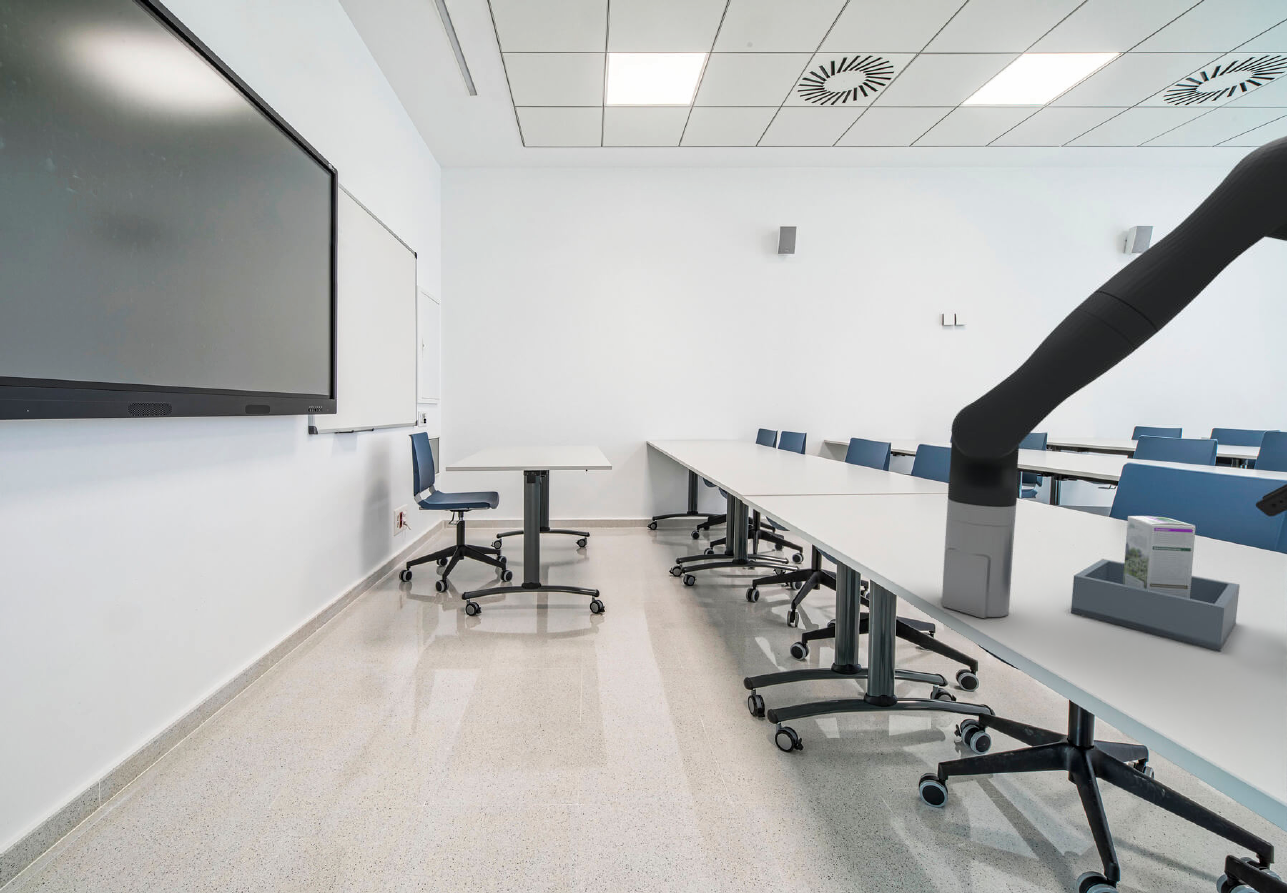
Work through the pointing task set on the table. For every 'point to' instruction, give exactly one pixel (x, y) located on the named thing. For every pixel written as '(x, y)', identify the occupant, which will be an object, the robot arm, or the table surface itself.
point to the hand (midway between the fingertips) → (1265, 507)
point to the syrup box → (1159, 555)
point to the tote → (1157, 606)
